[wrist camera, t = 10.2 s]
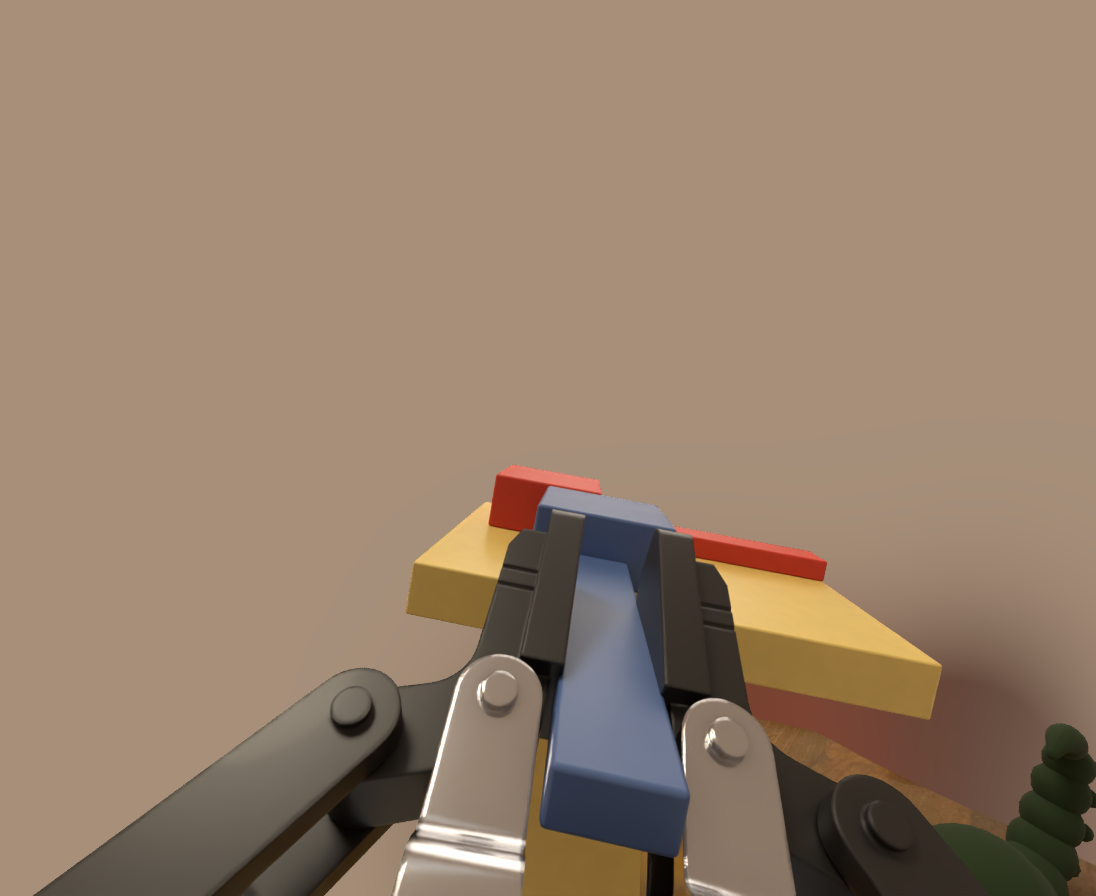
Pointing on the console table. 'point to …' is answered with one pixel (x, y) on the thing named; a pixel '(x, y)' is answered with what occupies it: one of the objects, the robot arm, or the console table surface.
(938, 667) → the stand
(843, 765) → the console table surface
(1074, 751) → the green caterpillar figure
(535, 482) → the red toy mallet
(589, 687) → the blue toy mallet
